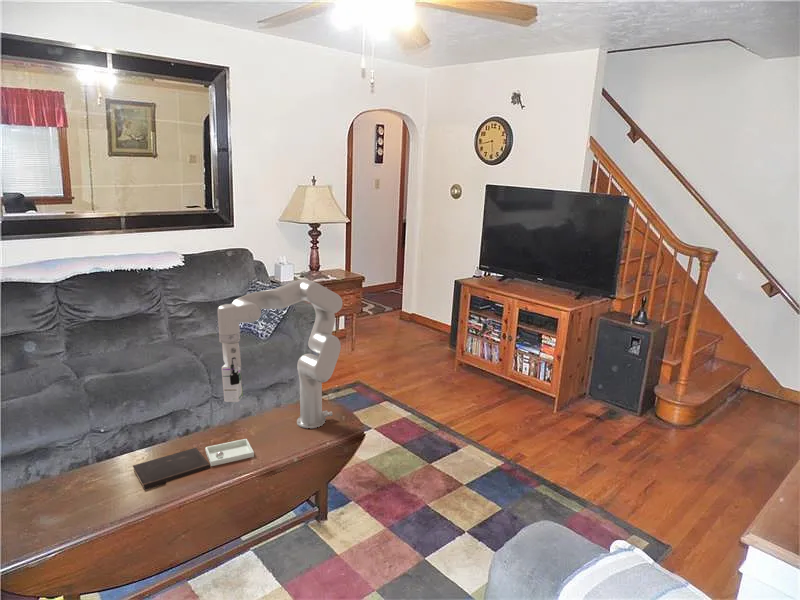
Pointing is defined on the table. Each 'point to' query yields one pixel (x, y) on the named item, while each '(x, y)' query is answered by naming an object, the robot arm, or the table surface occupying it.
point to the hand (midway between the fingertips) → (232, 380)
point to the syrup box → (231, 391)
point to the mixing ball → (219, 455)
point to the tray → (229, 452)
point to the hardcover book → (170, 467)
